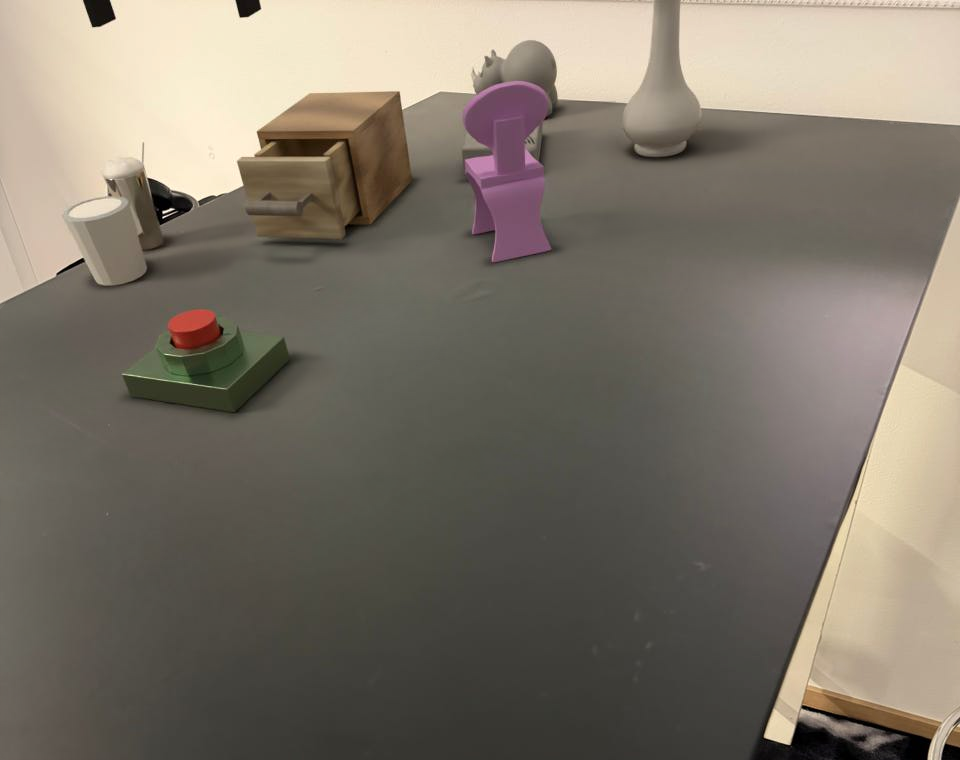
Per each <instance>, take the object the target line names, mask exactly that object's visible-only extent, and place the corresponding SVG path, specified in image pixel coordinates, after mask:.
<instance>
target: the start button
mask: <svg viewBox="0 0 960 760" xmlns="http://www.w3.org/2000/svg"><path fill="white" fill-rule="evenodd" d="M216 317H217V316H216V314H215V313H214V312H213V311H212V310H209V309H203V308H202V309H192V310H187V311H184V312H182V313H179V314H177V315H175V316H174V317H172V318H171V319H170V320H169V322H168V323H167V328H168V329H169V331H170V334H171V336H172V339H173V342H174V344H175V346H176V347H177V348H180V349H192V348H199V347H203V346H205V345H207V344H210V343H212V342H215V341H216V340H217V339H218V338H220V337H221V331H220V328H219V325H218V322H217V319H216Z"/></svg>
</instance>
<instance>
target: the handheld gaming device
mask: <svg viewBox="0 0 960 760" xmlns="http://www.w3.org/2000/svg"><path fill="white" fill-rule="evenodd" d="M542 137H543V122H542V123H541V124H540V125H539V126H538V127H537V128H536V129H535V130H534V132H533V133H532V134H530V135H529V136H528V138H527V139H526V140H525V149H526V150H527V151H528V152H529V153H530V154H531V156H532V157H533V158H534V159H535V160H537V161H538V162H539V163H540V157H541V148H542V146H541V145H542V139H543V138H542ZM461 154H462V156H461V157H462V163H463V164H462V165H463V173H464V174H463V175H464V177H466V173H465V159H470V158H475V157H483V156H491V155H493V151H492V150H491V149H490V148H489V147H487V146H485V145H483V144H481V143H478V142H477V141H476V139H474V138H473V137H472V136H471V135H470V134H469V133H468V132H467V131H466V135H465V138H464V142H463V144H462V148H461Z"/></svg>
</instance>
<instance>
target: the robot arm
mask: <svg viewBox="0 0 960 760" xmlns="http://www.w3.org/2000/svg"><path fill="white" fill-rule="evenodd" d="M82 2H83V5H84V8H85V11H86V14H87V17H88V19H89V22H90V25H91V28H101V27H103V26H105V25H108V24H109V23H111V22H113V21H115V20H117V17H116V15H115V14H116V13H115V11H114V8H113V4H112V2H111V0H82ZM234 2H235V4H236V9H237V13H238V17H239V19H243V18H249V17H251V16H253V15H255V14H257V13H258V12H259V11H261V10H262V6H261V5H262V4H261V2H260V0H235V1H234Z"/></svg>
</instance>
